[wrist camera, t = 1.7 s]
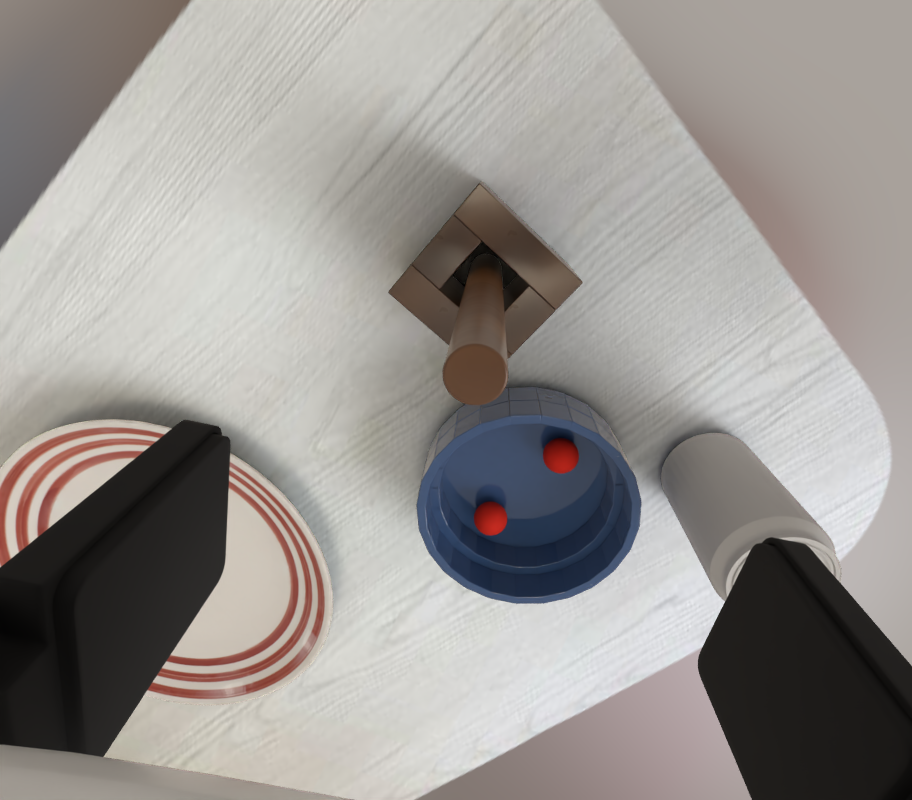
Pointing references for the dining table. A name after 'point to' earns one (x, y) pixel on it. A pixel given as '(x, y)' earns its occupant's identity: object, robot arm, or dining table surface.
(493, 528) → the tomato
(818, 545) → the beverage can
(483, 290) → the stirring stick
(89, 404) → the dining table surface
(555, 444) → the tomato
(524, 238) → the holder
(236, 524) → the dinner plate
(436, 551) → the bowl
